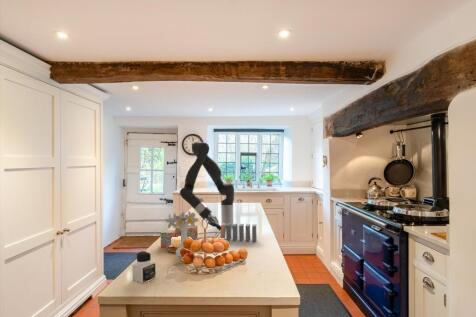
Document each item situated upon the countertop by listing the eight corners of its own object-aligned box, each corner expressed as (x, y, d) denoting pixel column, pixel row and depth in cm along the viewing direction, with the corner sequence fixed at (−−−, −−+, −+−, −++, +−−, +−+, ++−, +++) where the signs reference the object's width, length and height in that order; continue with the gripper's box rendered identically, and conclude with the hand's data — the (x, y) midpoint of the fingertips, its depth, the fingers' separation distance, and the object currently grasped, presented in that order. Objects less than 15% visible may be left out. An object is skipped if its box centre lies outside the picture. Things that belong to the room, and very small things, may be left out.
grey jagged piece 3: (232, 241, 180) (232, 225, 180) (234, 238, 185) (234, 223, 185) (235, 241, 180) (235, 225, 180) (237, 238, 185) (237, 223, 184)
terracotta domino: (220, 240, 182) (221, 224, 181) (222, 237, 187) (223, 223, 186) (223, 240, 181) (224, 225, 181) (225, 238, 186) (226, 223, 186)
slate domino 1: (226, 240, 181) (226, 225, 181) (228, 238, 186) (228, 223, 186) (229, 240, 180) (229, 225, 180) (231, 238, 185) (231, 223, 185)
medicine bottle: (143, 283, 121) (142, 256, 121) (132, 280, 125) (131, 253, 125) (156, 277, 127) (155, 251, 127) (145, 274, 131) (144, 248, 131)
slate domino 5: (245, 241, 178) (245, 225, 178) (247, 239, 183) (246, 224, 183) (248, 241, 178) (248, 226, 178) (250, 239, 183) (249, 224, 183)
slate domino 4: (252, 241, 178) (252, 226, 177) (253, 239, 182) (253, 224, 182) (255, 242, 177) (255, 226, 177) (256, 239, 182) (256, 224, 182)
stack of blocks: (160, 248, 169) (160, 227, 169) (164, 244, 175) (163, 225, 175) (195, 248, 167) (195, 227, 167) (197, 245, 173) (197, 225, 173)
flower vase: (173, 253, 159) (172, 209, 158) (203, 255, 154) (203, 210, 154) (161, 261, 146) (160, 213, 146) (194, 264, 141) (193, 215, 141)
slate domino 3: (239, 241, 179) (239, 225, 179) (240, 239, 184) (240, 223, 184) (242, 241, 179) (242, 225, 179) (243, 239, 184) (243, 223, 184)
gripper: (203, 208, 180) (222, 228, 177) (209, 204, 192) (227, 223, 190) (195, 216, 181) (214, 236, 178) (202, 212, 194) (219, 230, 191)
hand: (221, 229), depth 184 cm, fingers closed
